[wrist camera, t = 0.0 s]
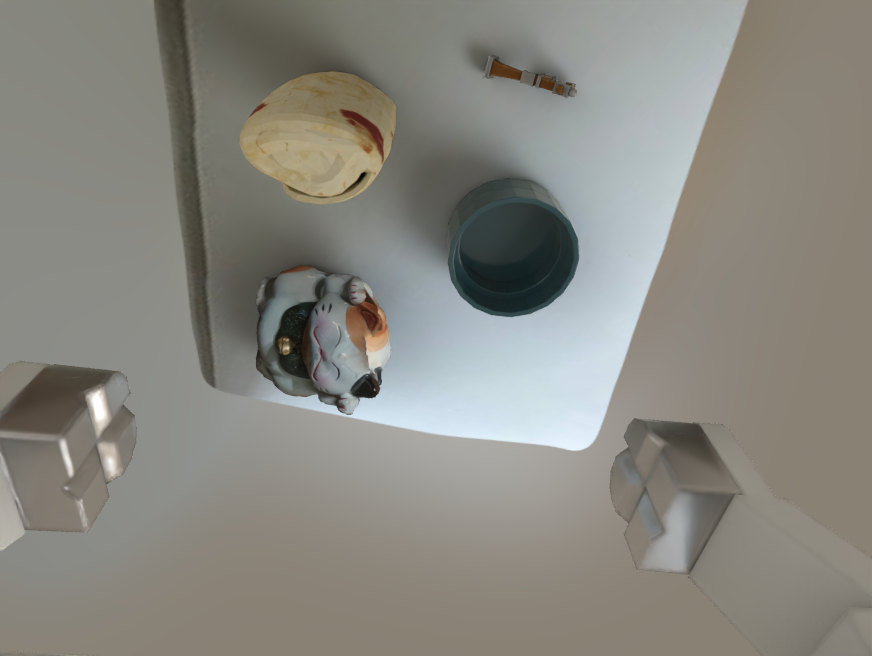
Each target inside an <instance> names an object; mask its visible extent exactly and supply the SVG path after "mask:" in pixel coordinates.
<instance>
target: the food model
mask: <svg viewBox="0 0 872 656" xmlns="http://www.w3.org/2000/svg"><path fill="white" fill-rule="evenodd" d="M395 124H396V106H395V104H394V102H393V101H392V100H391V99H390V98H389V97H388V96H387V95H386V94H384V93H383V92H381V91H380V90H379V89H377V88H376V87H374V86H373V85H372V84H370V83H369V82H367V81H365V80H363V79H361V78H359V77H357V76H356V75H353V74H348V73H343V72H335V71H326V72H320V73H312V74H306V75H303V76H300V77H298V78H295V79H293V80H290V81H288V82H287V83H285V84H284V85H282V86H280V87H279V88H277V89H275V90H274V91H273V92H272V93H271V94H270V95H269V96H267V97H266V98H265V99H264V100H263V101H262V102H261V103H260V104H259V105H258V106H257V108H256V109H255V110H254V112H253V113H252V114H251V115H250V117H249V118H248V120H247V121H246V123H245V125H244V127H243V129H242V131H241V134H240V146H241V149H242V152H243V154H244V155H245V157H246V158H247V160H248V161H249V162H250V163H251V164H252V165H253V166H255V167H256V168H257V169H258V170H259V171H261V172H263V173H265V174H267V175H269V176H271V177H273V178H275V179H277V180H279V181H281V182H283V189H284V191H285V192H286V194H287V195H289V196H290V197H291V198H293V199H295V200H298V201H301V202H308V203H315V204H329V203H337V202H342V201H345V200H348V199H350V198H353V197H356V196H357V195H358V194H360V193H361V192H363V191H364V190H365V189H366V188H367V187H368V186H369V185H370V184H371V183H372V182H373V180H374V179H375V178H376V176H377V175H378V173H379V172H380V170H381V168H382V166H383V164H384V162H385V160H386V158H387V157H388V155H389V152H390V150H391V147H392V142H393V135H394V132H395Z"/></svg>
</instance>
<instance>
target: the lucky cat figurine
mask: <svg viewBox="0 0 872 656" xmlns="http://www.w3.org/2000/svg"><path fill="white" fill-rule="evenodd" d="M256 306H257V309H258V311H259V314H260V316H259V320H258V324H257V342H258V352H257V356H256V368H257V370H258V371H260V372H261V374H263V376H264V377H265V378H267V379H269V380H271V381H272V382H273V383H274V385H275V386H276V387H277V388H278V389H279V390H281V391H282V392H283V393H285V394H288V395H292V396H301V397H308V396H311V395H315V394H318V396H319V397H318V398H319V400H320V401H321V402H324V403H325V404H328V405H334V406H337V408H338V410H339V411H340V412H342V413H345V414H347V415H351V414H353V411H354V409H355V408H356V407H357V406H358V404H359V401H360V399H359V397H364V398H373V397H376V395H377V394H378V393H379V390H380V387H379V385H381V383H382V380H381V372H382V371H383V369H384V367H385V366H386V364H387V362H388V360H389V356H390V353H391V350H392V349H391V346H390V336H389V329H388V327H387V324H386V316H385V313H384V311H383V310H382V309H381V308H380V307H379V305H378V303H377V302H376V300H375V298H374V296H373V293H372V289H371V288H370V287H369V285H368V284H367V283H365V282H364V281H362V279H360V278H359V277H357V276H356V277H355V276H353V275H347V274H344V275H342V274H336V273H326V272H321V271H318V270H317V269H315V268H314V267H312V266H298V267H295V268H292V269H290V270H286V271H282V272H281V273H280V275H279V276H278V277H276V278H272V279H269V278H264V279H262V281H260V285H259V289H258V293H257V297H256Z"/></svg>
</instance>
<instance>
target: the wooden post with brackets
mask: <svg viewBox="0 0 872 656" xmlns="http://www.w3.org/2000/svg"><path fill="white" fill-rule="evenodd" d="M498 58H499V57H496V56H489V57H488V61H487V65H486V69H485V73H484V77H483V78H487V79H489V78H493V77H494V76H500V77H506V78H511V79H515V80H519V81H520V83H525V84H528V85H530V86H535V88H544V89H547V90H550V91H552V93H554V94H558V95H561V96H564V97H565V98H567V97H569V96H570V97H574V96H575V95H576V93H577V91H576V89H575V88H574V87H575V84H573V83H569V82H566V84H565V83H562V82H560V81H556V76H554V77H553V78H552V77H549V76H547V75H545V74H542V75H538V74H534V73H531V72H528V71H526V70H524V71H521V70H517V69H515V68H512V67H510V66H507V65H505V64H503V63H501V62H499V61H498Z"/></svg>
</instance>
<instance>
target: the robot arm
mask: <svg viewBox="0 0 872 656" xmlns="http://www.w3.org/2000/svg"><path fill="white" fill-rule="evenodd" d="M129 395H130V389H129V385H128V380H127V376H125V375H124V374H123V373H121V372H119V371H110V370H101V369H91V368H83V367H74V366H65V365H56V364H54V365H50V364H42V363H33V362H23V361H19V362H15V363H12V364H9V365H8V366H7V367H6V368H5V369H3V371H1V372H0V551H1V550H3V549H4V548H5V547H7V546H8V545H10V544H11V543H12V542H14V541H15V540H17V539H18V538H20V537H21V536H22V535H24V534H25V530H38V531H61V532H88V531H89V530H90V528H91V526H92V525H93V523H94V521H95V520H96V518H97V516H98V515H99V513H100V512H101V510H102V508H103V507H104V505H105V503H106V502H107V500H108V498H109V493H108V489H107V484H108V483H109V482H111V481H113V480H115V479H116V478H118V477H120V476H121V475H123V473H124V472H125V470H126V468H127V466H128V465H129V463H130V461H131V458H132V455H133V451H134V448H135V444H136V432H137V427H136V421H135V416H134V415H133V414H132V413H131V412H130V411H129V410H128V409H127V408H126V407H125V406H124V405H123V404H124V402H125V401H126V399H127V398H128V396H129ZM624 438H625V441H626V443H627V445H628V448H627V449H625V450H624V451H622V452H621V453H620V454H618V455H617V456H616V458H615V460H614V463H613V466H612V469H611V475H610V492H611V499H612V502H613V505H614V508H615V511H616V512H617V513H618V514H619V515H620V516H621V517H622V518H623V519H624V520H625V521H627V522H628V526H627V528H626V530H625V533H624V536H625V539H626V542H627V544H628V547H629V550H630V552H631V555H632V558H633V561H634V563H635V566H636V569H637V570H647V571H657V572H668V573H678V574H689V576H688V578H689V579H690V580H691V581H692V582H693V583H694V584H695V585H696V586H697V587H698V588H699V589H700V590H701V592H702V593H703V594H704V595H705V596H706V597H707V598H708V599H709V600H710V601H711V602H712V603H713V604H714V605H715V607H717V609H718V610H719V611H720V612H721V613H722V614H723V615H724V616H725V617H726V618H727V619H728V620H729V622H731V624H732V625H733V626H734V627H735V628H736V629H737V630H738V631H739V632H740V633H741V634H742V635H743V637H745V639H746V640H747V641H748V642H749V643H750V644H751V645H752V646H753V647H754V648H755V649H756V650H757V652H759V654H760V655H761V656H872V557H871V556H870V555H868V554H867V553H866V552H864V551H863V550H861V549H860V548H858V547H857V546H855V545H854V544H852V543H851V542H849V541H848V540H846V539H845V538H843V537H842V536H840V535H839V534H838V533H836V532H835V531H833V530H832V529H830V528H829V527H827V526H826V525H824V524H823V523H821V522H820V521H818V520H817V519H815V518H814V517H812V516H811V515H809V514H808V513H807V512H805V511H804V510H802V509H801V508H799V507H798V506H796V505H795V504H793V503H792V502H790V501H789V500H787V499H784V498H783V499H782V498H777V497H776V496H775V494H774V493H773V491H772V490H771V488H770V487H769V486H768V484H767V483H766V481H765V480H764V478H763V477H762V475H761V474H760V472H759V471H758V470H757V468H756V467H755V465H754V464H753V462H752V461H751V459H750V458H749V456H748V455H747V453H746V452H745V450H744V449H743V447H742V446H741V444H740V443H739V442H738V440H737V439H736V437H735V436H734V434H733V433H732V432H731V430H730V429H729V428H727V427H726V426H724V425H723V424H708V423H694V422H693V423H682V422H671V421H659V420H647V419H636V418H634V420H633V421H632V422H631V423H630V424H629V425H628V427H627V430H626V432H625V435H624ZM0 656H93V655H71V654H53V653H33V652H13V651H0Z"/></svg>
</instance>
